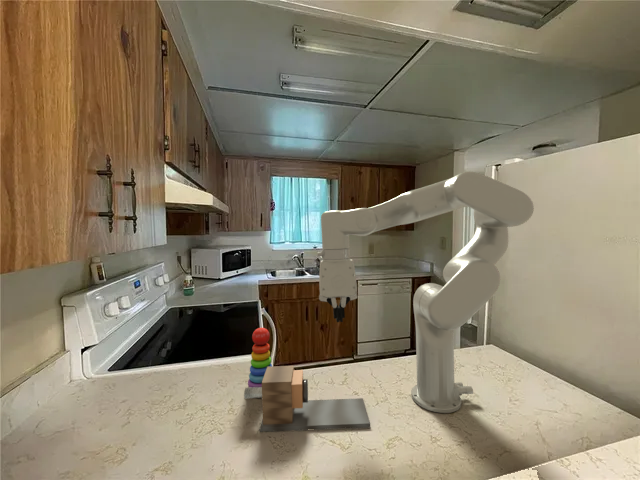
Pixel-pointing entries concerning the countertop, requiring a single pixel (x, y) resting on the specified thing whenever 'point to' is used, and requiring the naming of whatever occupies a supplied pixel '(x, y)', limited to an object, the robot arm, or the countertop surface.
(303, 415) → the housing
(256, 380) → the stacking toy
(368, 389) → the countertop surface
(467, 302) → the robot arm
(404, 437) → the countertop surface
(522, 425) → the countertop surface
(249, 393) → the shaft
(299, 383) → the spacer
